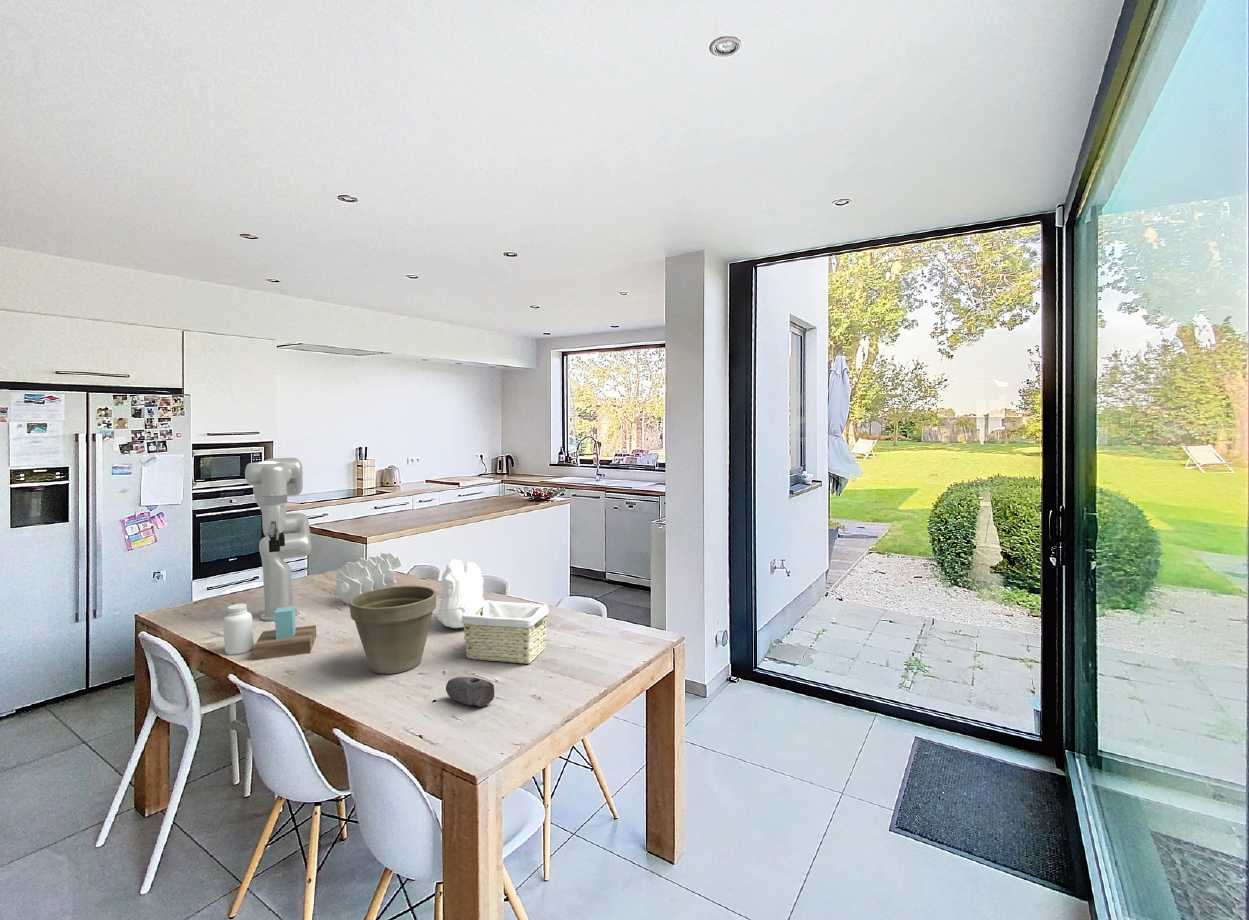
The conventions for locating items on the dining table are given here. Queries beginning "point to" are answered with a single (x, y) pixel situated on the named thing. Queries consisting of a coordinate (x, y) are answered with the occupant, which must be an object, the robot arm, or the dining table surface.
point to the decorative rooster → (459, 592)
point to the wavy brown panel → (284, 643)
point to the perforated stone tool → (470, 691)
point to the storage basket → (505, 631)
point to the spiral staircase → (366, 575)
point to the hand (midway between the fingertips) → (277, 548)
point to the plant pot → (393, 625)
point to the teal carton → (285, 622)
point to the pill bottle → (238, 630)
